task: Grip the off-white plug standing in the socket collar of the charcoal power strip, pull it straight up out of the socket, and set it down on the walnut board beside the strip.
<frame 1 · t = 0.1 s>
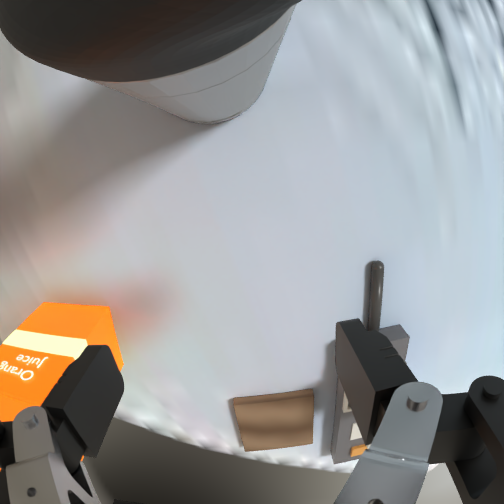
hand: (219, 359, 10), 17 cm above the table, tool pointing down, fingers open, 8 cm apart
power strip: (362, 400, 34), on the table
orange juice: (83, 333, 30), on the table
walnut board: (275, 420, 34), on the table
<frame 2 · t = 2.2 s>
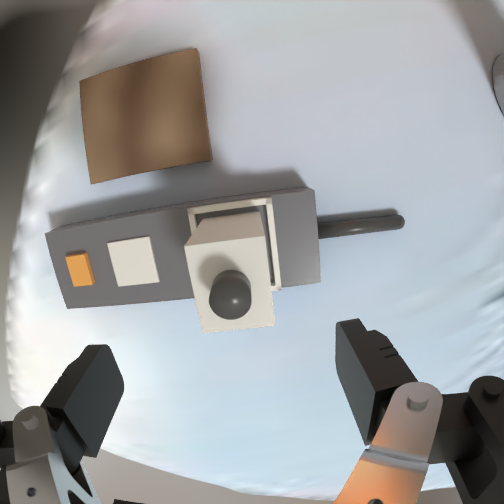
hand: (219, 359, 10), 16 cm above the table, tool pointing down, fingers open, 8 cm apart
power strip: (176, 247, 25), on the table
walnut board: (143, 116, 22), on the table
plug: (236, 248, 23), point 2 cm above the table, touching power strip
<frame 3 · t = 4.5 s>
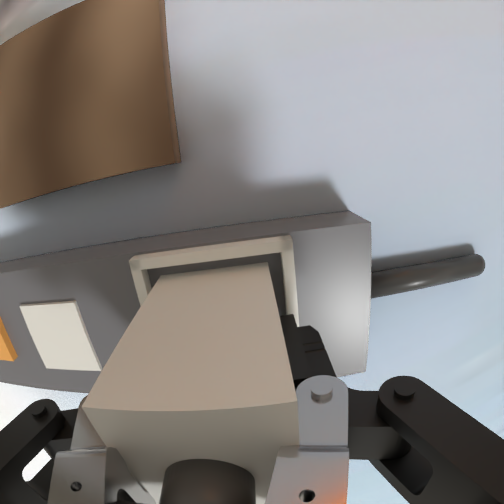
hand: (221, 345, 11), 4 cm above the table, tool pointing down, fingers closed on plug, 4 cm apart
power strip: (128, 309, 15), on the table
walnut board: (70, 94, 11), on the table
plug: (223, 327, 12), point 3 cm above the table, touching gripper, power strip
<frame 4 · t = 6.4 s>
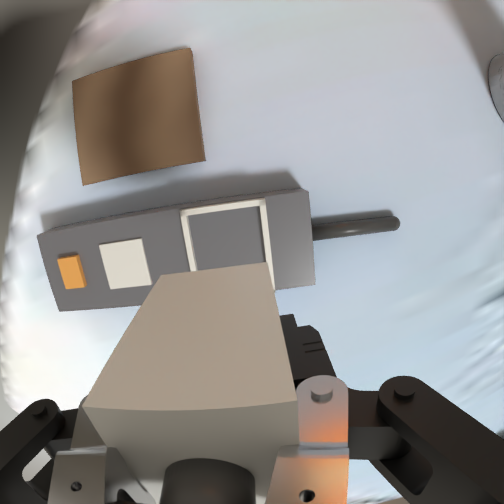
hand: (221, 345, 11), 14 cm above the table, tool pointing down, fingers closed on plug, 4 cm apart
power strip: (169, 249, 25), on the table
walnut board: (136, 117, 21), on the table
plug: (223, 327, 12), point 13 cm above the table, touching gripper
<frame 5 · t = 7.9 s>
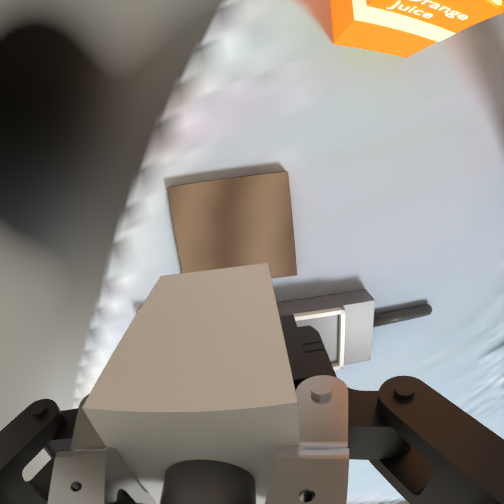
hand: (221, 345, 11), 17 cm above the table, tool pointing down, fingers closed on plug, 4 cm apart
power strip: (259, 335, 31), on the table
orange juice: (366, 14, 21), on the table
walnut board: (234, 229, 27), on the table
plug: (223, 328, 12), point 16 cm above the table, touching gripper
when the fingers open (4 cm above the table, at t = 10.5 s): plug drops 1 cm, resting on walnut board.
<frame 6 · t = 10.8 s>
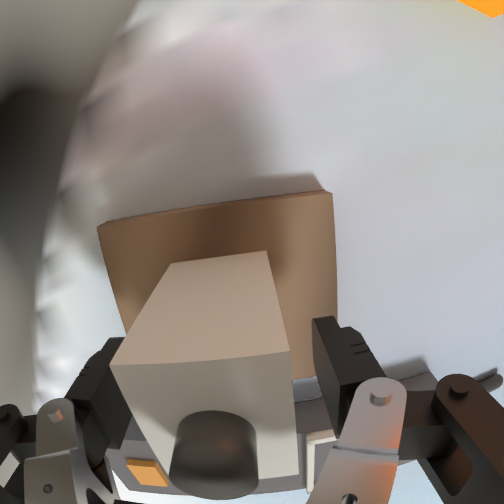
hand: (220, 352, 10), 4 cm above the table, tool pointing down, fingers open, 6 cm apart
power strip: (269, 440, 18), on the table
walnut board: (226, 298, 15), on the table
plug: (227, 310, 14), point 1 cm above the table, touching walnut board
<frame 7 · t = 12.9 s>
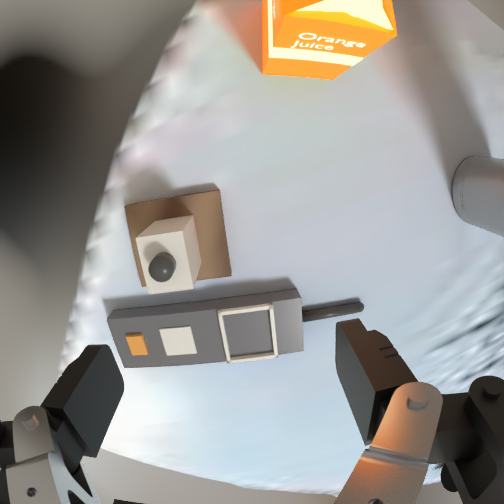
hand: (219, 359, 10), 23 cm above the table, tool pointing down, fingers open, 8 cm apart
dark cylindrical piece: (480, 448, 55), on the table
power strip: (205, 327, 36), on the table
orange juice: (296, 41, 27), on the table
walnut board: (179, 238, 33), on the table
plug: (178, 241, 32), point 1 cm above the table, touching walnut board
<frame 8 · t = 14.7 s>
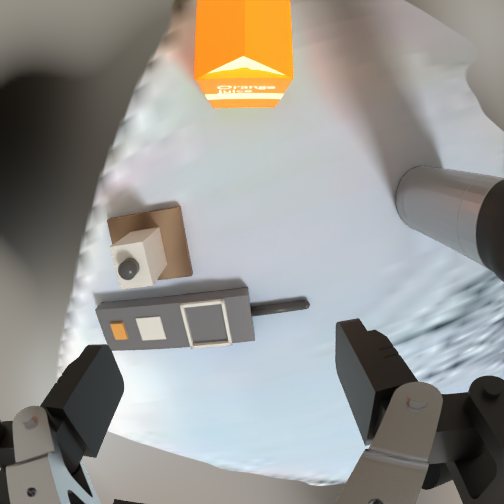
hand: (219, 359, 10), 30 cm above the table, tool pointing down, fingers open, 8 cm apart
dark cylindrical piece: (458, 448, 60), on the table
power strip: (174, 318, 43), on the table
orange juice: (243, 75, 34), on the table
walnut board: (150, 245, 40), on the table
plug: (148, 248, 39), point 1 cm above the table, touching walnut board
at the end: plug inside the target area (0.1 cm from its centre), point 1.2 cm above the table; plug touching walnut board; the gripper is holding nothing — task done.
